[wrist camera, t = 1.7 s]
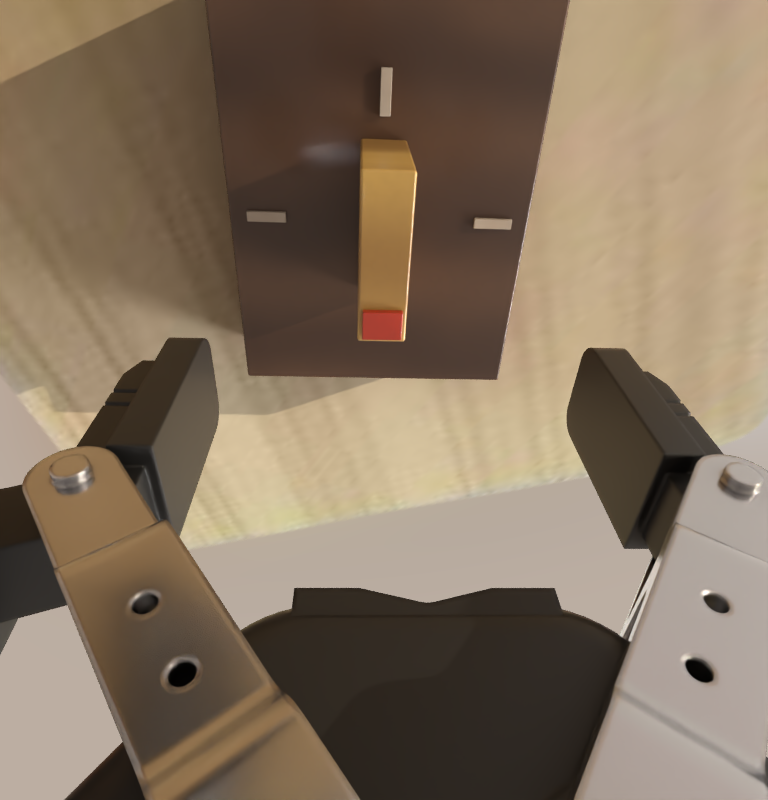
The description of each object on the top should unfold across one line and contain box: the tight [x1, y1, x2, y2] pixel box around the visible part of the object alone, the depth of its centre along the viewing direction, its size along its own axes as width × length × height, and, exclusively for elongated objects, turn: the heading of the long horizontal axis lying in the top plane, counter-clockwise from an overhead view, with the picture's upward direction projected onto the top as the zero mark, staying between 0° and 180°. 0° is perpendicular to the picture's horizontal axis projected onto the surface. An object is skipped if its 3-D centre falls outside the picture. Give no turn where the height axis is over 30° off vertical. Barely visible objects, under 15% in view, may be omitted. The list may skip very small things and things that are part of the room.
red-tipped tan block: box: [357, 139, 417, 341], centre depth 19 cm, size 6×2×4 cm, turn 178°
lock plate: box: [205, 0, 570, 380], centre depth 22 cm, size 14×11×3 cm
